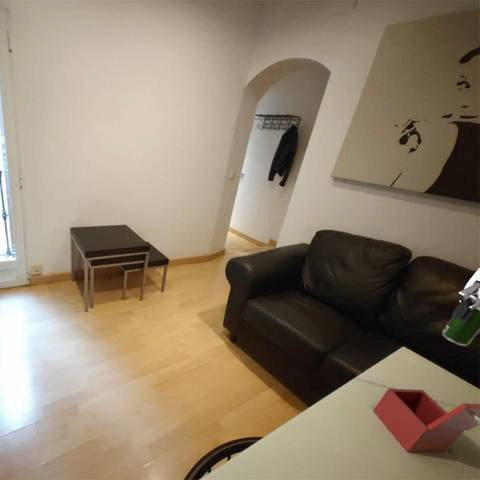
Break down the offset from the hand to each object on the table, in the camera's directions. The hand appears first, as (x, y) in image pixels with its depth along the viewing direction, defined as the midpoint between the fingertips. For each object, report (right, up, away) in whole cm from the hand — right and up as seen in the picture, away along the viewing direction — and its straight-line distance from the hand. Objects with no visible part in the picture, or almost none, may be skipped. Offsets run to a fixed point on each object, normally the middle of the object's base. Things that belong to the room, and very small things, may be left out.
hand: (469, 319), depth 69 cm
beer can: (-1, -6, +3) cm, 7 cm away
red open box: (-17, -29, 0) cm, 33 cm away
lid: (-14, -18, -11) cm, 25 cm away
